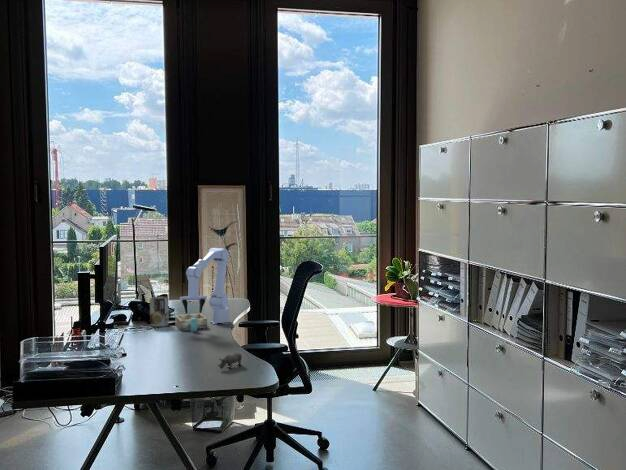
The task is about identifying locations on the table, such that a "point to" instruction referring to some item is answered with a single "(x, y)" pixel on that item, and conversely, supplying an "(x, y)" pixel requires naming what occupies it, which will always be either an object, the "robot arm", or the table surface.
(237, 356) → the rhino figurine
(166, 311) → the coffee box
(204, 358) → the table surface
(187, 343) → the table surface
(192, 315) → the box
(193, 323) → the peg
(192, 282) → the robot arm
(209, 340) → the table surface
